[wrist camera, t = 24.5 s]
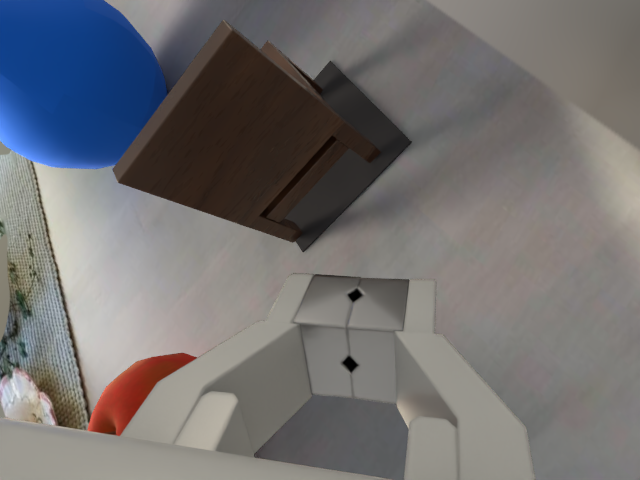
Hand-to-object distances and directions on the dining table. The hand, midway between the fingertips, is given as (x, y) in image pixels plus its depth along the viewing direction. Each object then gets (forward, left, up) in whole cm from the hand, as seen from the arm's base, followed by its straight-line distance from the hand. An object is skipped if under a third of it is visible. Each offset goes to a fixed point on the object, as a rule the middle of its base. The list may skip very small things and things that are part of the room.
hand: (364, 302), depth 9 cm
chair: (+16, -15, -20) cm, 30 cm away
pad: (+15, -15, -20) cm, 30 cm away
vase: (+41, -27, -20) cm, 53 cm away
